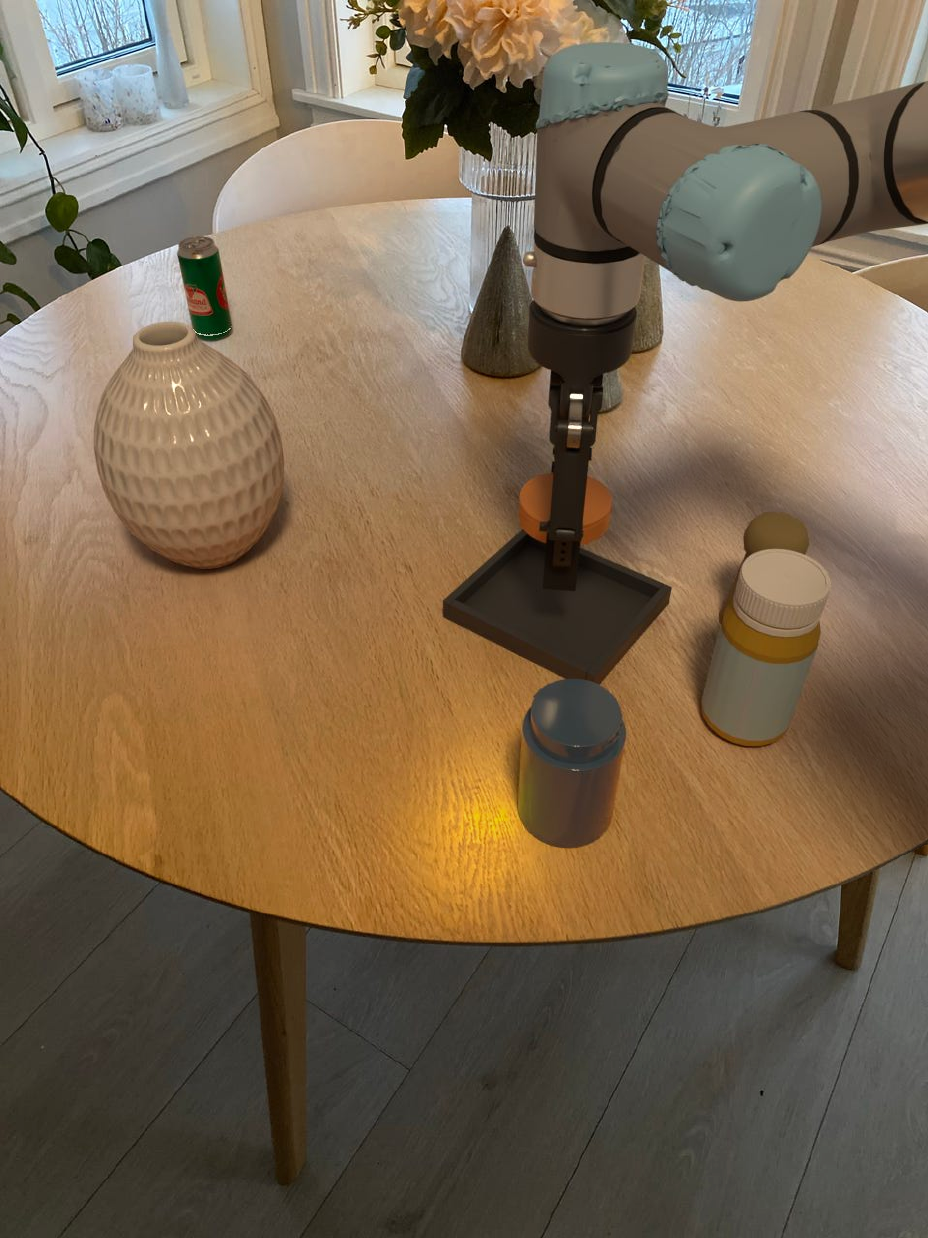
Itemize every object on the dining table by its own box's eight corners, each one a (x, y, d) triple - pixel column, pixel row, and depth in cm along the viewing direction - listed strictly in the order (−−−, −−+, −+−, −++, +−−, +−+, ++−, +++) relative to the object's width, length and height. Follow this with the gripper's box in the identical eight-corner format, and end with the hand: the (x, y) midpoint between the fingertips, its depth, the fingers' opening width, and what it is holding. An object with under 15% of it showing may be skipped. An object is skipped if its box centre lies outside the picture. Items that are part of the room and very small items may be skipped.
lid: (499, 524, 79) (500, 503, 78) (549, 480, 84) (550, 460, 82) (579, 558, 76) (581, 538, 74) (626, 511, 80) (629, 491, 79)
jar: (629, 799, 71) (648, 702, 64) (580, 865, 67) (595, 770, 60) (550, 755, 74) (559, 658, 67) (499, 816, 70) (502, 720, 63)
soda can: (186, 335, 125) (166, 244, 117) (214, 321, 128) (196, 231, 120) (213, 346, 123) (195, 254, 115) (241, 331, 126) (225, 240, 118)
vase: (91, 577, 90) (15, 361, 75) (188, 483, 101) (139, 278, 86) (240, 620, 86) (192, 400, 70) (325, 518, 97) (299, 308, 81)
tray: (669, 603, 87) (672, 586, 86) (593, 692, 79) (595, 676, 78) (526, 540, 94) (527, 524, 93) (442, 616, 86) (442, 600, 85)
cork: (784, 652, 83) (816, 553, 75) (714, 636, 84) (738, 537, 77) (790, 607, 87) (821, 509, 79) (723, 593, 88) (747, 495, 81)
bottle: (782, 761, 74) (833, 619, 64) (692, 737, 76) (727, 595, 66) (792, 698, 79) (841, 557, 69) (707, 677, 81) (742, 536, 70)
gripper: (537, 241, 74) (524, 483, 90) (520, 371, 60) (508, 634, 75) (634, 245, 74) (604, 488, 89) (641, 378, 59) (604, 641, 75)
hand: (560, 555), depth 82 cm, fingers closed on lid, 7 cm apart
